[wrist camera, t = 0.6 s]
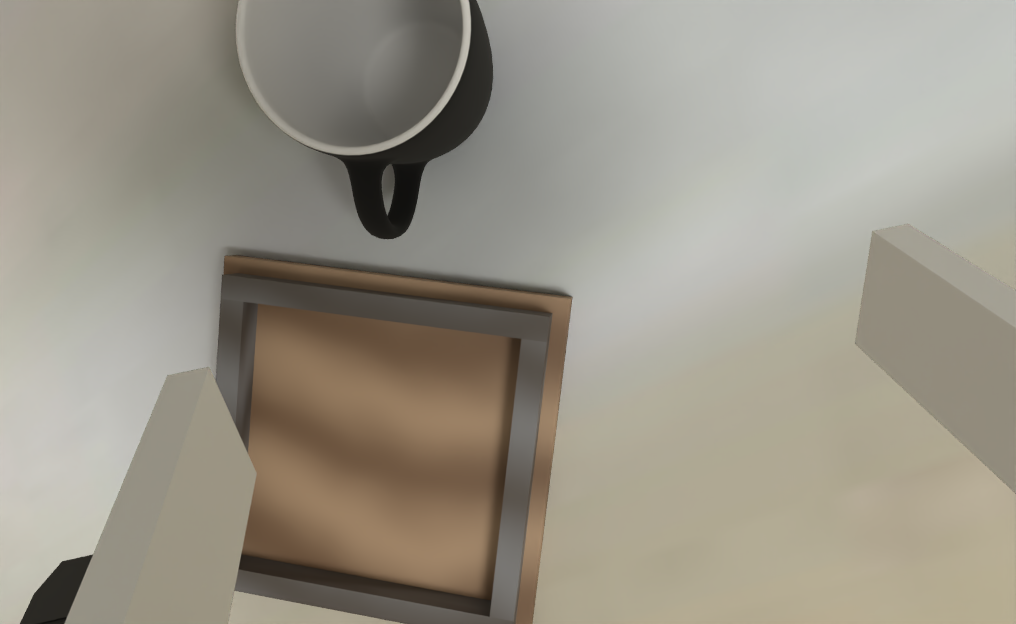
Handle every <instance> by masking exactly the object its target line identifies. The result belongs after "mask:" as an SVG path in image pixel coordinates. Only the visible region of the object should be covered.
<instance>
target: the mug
mask: <svg viewBox="0 0 1016 624" xmlns="http://www.w3.org/2000/svg"><path fill="white" fill-rule="evenodd" d="M235 33H236V46H237V54H238V58H239V63H240V67H241V70H242V73H243V76H244V79H245V81H246V83H247V86H248V88H249V90H250V92H251V94H252V95H253V97H254V99H255V101H256V102H257V104H258V105H259V107H260V108H261V109H262V111H263V112H264V113H265V114H266V115H267V117H268V118H269V119H270V120H271V121H272V122H273V123H274V124H275V125H276V126H277V127H278V128H280V129H281V130H282V131H283V132H284V133H286V134H287V135H288V136H290V137H291V138H293V139H294V140H296V141H297V142H299V143H301V144H303V145H305V146H307V147H309V148H312V149H314V150H317V151H319V152H322V153H325V154H328V155H332V156H334V157H337V158H338V159H340V160H341V161H342V162H343V163H344V164H345V166H346V168H347V170H348V173H349V177H350V181H351V186H352V191H353V197H354V201H355V206H356V209H357V213H358V216H359V218H360V220H361V222H362V224H363V226H364V227H365V229H366V230H367V231H368V232H369V233H370V234H371V235H373V236H375V237H378V238H381V239H394V238H397V237H399V236H401V235H402V234H403V233H404V232H406V230H407V229H408V227H409V225H410V224H411V221H412V219H413V215H414V212H415V208H416V204H417V199H418V193H419V186H420V181H421V176H422V173H423V170H424V167H425V165H426V164H427V163H428V162H429V161H430V160H432V159H434V158H436V157H439V156H441V155H443V154H445V153H447V152H449V151H451V150H453V149H454V148H456V147H457V146H459V145H460V144H461V143H463V142H464V141H465V140H466V139H467V138H468V137H469V136H470V135H471V134H472V133H473V131H474V130H475V129H476V128H477V126H478V125H479V123H480V121H481V120H482V118H483V116H484V114H485V111H486V109H487V106H488V103H489V100H490V96H491V90H492V82H493V63H492V54H491V48H490V43H489V38H488V34H487V30H486V27H485V24H484V20H483V17H482V14H481V11H480V8H479V6H478V3H477V1H476V0H239V1H238V5H237V13H236V26H235ZM389 164H392V166H393V169H394V174H395V187H394V194H393V199H392V204H391V208H390V211H389V213H388V216H387V214H386V211H385V207H384V202H383V196H382V185H381V181H382V174H383V171H384V169H385V168H386V166H388V165H389Z"/></svg>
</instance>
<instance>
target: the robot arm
mask: <svg viewBox="0 0 1016 624" xmlns="http://www.w3.org/2000/svg"><path fill="white" fill-rule="evenodd" d="M855 344H856V345H857V346H858V347H859V348H860V349H861V350H862V351H863V352H864V353H865V354H866V355H868V356H869V357H870V358H871V359H872V360H873V361H874V362H875V363H876V364H877V365H878V366H879V367H880V368H881V369H883V370H884V371H885V372H886V373H887V374H888V375H889V376H890V377H891V378H892V379H893V380H894V381H895V382H896V383H898V384H899V385H900V386H901V387H902V388H903V389H904V390H905V391H906V392H907V393H908V394H909V395H910V396H911V397H913V398H914V399H915V400H916V401H917V402H918V403H919V404H920V405H921V406H922V407H923V408H924V409H925V410H926V411H928V412H929V413H930V414H931V415H932V416H933V417H934V418H935V419H936V420H937V421H938V422H939V423H940V424H941V425H943V426H944V427H945V428H946V429H947V430H948V431H949V432H950V433H951V434H952V435H953V436H954V437H955V438H957V439H958V440H959V441H960V442H961V443H962V444H963V445H964V446H965V447H966V448H967V449H968V450H969V451H970V452H972V453H973V454H974V455H975V456H976V457H977V458H978V459H979V460H980V461H981V462H982V463H983V464H984V465H985V466H987V467H988V468H989V469H990V470H991V471H992V472H993V473H994V474H995V475H996V476H997V477H998V478H999V479H1000V480H1002V481H1003V482H1004V483H1005V484H1006V485H1007V486H1008V487H1009V488H1010V489H1011V490H1012V491H1013V492H1014V493H1015V494H1016V290H1015V289H1013V288H1012V287H1010V286H1008V285H1007V284H1005V283H1004V282H1002V281H1000V280H999V279H997V278H995V277H994V276H992V275H991V274H989V273H987V272H986V271H984V270H982V269H981V268H979V267H978V266H976V265H974V264H973V263H971V262H970V261H968V260H966V259H965V258H963V257H961V256H960V255H958V254H957V253H955V252H953V251H952V250H950V249H949V248H947V247H945V246H944V245H942V244H940V243H939V242H937V241H936V240H934V239H932V238H931V237H929V236H927V235H926V234H924V233H923V232H921V231H919V230H918V229H916V228H915V227H913V226H911V225H910V224H904V225H900V226H895V227H890V228H885V229H880V230H875V231H872V237H871V243H870V250H869V256H868V263H867V269H866V276H865V282H864V288H863V295H862V301H861V308H860V314H859V320H858V327H857V333H856V340H855ZM256 475H257V473H256V471H255V468H254V466H253V464H252V462H251V459H250V457H249V455H248V453H247V450H246V448H245V446H244V444H243V441H242V439H241V437H240V435H239V433H238V430H237V428H236V426H235V424H234V421H233V419H232V417H231V415H230V412H229V410H228V408H227V406H226V403H225V401H224V399H223V397H222V395H221V392H220V390H219V388H218V386H217V383H216V381H215V379H214V377H213V374H212V372H211V370H210V368H209V367H206V368H201V369H196V370H192V371H187V372H182V373H177V374H172V375H167V378H166V380H165V382H164V385H163V387H162V390H161V392H160V395H159V397H158V399H157V402H156V404H155V407H154V409H153V411H152V414H151V416H150V419H149V421H148V423H147V426H146V428H145V431H144V433H143V436H142V438H141V440H140V443H139V445H138V448H137V450H136V452H135V455H134V457H133V460H132V462H131V464H130V467H129V469H128V472H127V474H126V477H125V479H124V481H123V484H122V486H121V489H120V491H119V493H118V496H117V498H116V501H115V503H114V505H113V508H112V510H111V513H110V515H109V518H108V520H107V522H106V525H105V527H104V530H103V532H102V534H101V537H100V539H99V542H98V544H97V546H96V549H95V551H94V554H93V555H89V556H85V557H80V558H76V559H71V560H67V561H62V562H61V563H60V565H59V566H58V567H57V568H56V569H55V570H54V572H53V573H52V574H51V575H50V576H49V577H48V578H47V580H46V581H45V582H44V583H43V584H42V585H41V587H40V588H39V589H38V590H37V591H36V592H35V593H34V595H33V597H32V599H31V601H30V604H29V606H28V608H27V610H26V612H25V614H24V616H23V618H22V620H21V623H20V624H228V621H229V616H230V610H231V605H232V600H233V595H234V590H235V584H236V579H237V574H238V569H239V563H240V558H241V553H242V548H243V543H244V537H245V532H246V527H247V522H248V517H249V511H250V506H251V501H252V496H253V490H254V485H255V480H256Z"/></svg>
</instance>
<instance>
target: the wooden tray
mask: <svg viewBox="0 0 1016 624" xmlns="http://www.w3.org/2000/svg"><path fill="white" fill-rule="evenodd" d="M571 304H572V297H569V296H561V295H553V294H545V293H537V292H528V291H520V290H512V289H504V288H496V287H488V286H480V285H472V284H464V283H456V282H448V281H440V280H432V279H424V278H416V277H408V276H400V275H392V274H384V273H376V272H368V271H360V270H352V269H343V268H335V267H327V266H319V265H311V264H303V263H295V262H287V261H279V260H271V259H263V258H255V257H247V256H239V255H232V256H225V258H224V275H222V287H221V304H220V321H219V338H218V354H217V371H216V383H217V386H218V388H219V390H220V392H221V395H222V397H223V399H224V401H225V403H226V406H227V408H228V410H229V412H230V415H231V417H232V419H233V421H234V424H235V426H236V428H237V430H238V433H239V435H240V437H241V439H242V441H243V444H244V446H245V448H246V450H247V453H248V455H249V457H250V459H251V462H252V464H253V466H254V468H255V471H256V473H257V475H256V480H255V485H254V490H253V496H252V501H251V506H250V511H249V517H248V522H247V527H246V532H245V537H244V543H243V548H242V553H241V558H240V563H239V569H238V574H237V579H236V584H235V590H234V591H239V592H244V593H249V594H255V595H260V596H265V597H270V598H275V599H280V600H286V601H291V602H296V603H301V604H306V605H312V606H317V607H322V608H327V609H332V610H338V611H343V612H348V613H353V614H358V615H363V616H369V617H374V618H379V619H384V620H389V621H395V622H400V623H405V624H532V622H533V614H534V606H535V598H536V590H537V581H538V573H539V565H540V557H541V549H542V541H543V532H544V524H545V516H546V508H547V500H548V492H549V484H550V475H551V467H552V459H553V451H554V443H555V435H556V427H557V418H558V410H559V402H560V394H561V386H562V378H563V369H564V361H565V353H566V345H567V337H568V329H569V321H570V312H571Z"/></svg>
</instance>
